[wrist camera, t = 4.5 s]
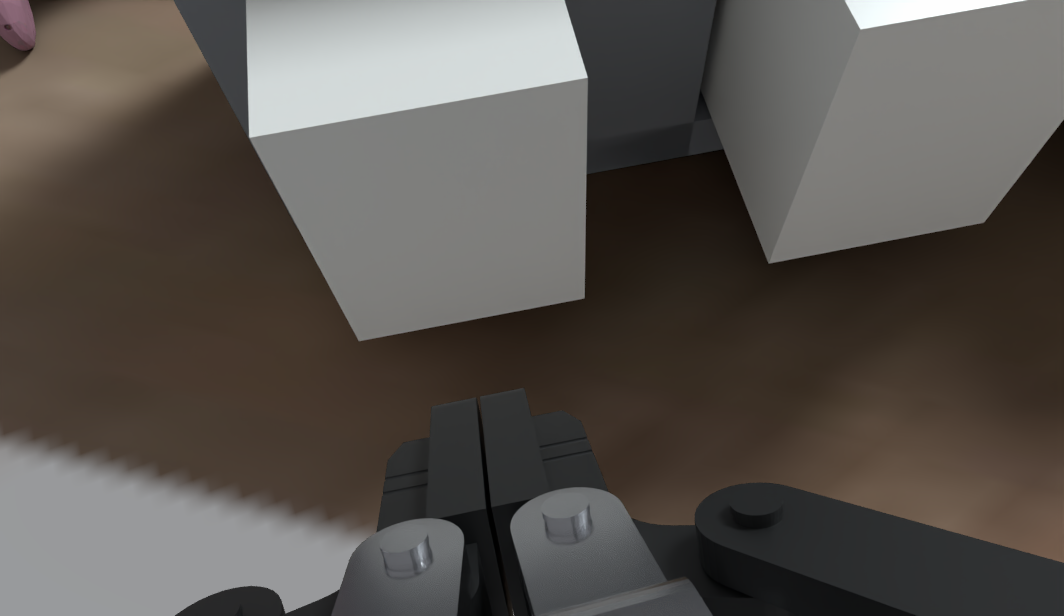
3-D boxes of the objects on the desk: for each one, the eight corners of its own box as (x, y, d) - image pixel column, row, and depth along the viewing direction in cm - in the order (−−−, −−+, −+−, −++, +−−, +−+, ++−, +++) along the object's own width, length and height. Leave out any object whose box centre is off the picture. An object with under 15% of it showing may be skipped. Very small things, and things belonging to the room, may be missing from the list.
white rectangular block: (584, 298, 21) (587, 77, 14) (359, 341, 21) (249, 137, 14) (523, 55, 26) (502, -206, 19) (335, 89, 25) (241, -164, 18)
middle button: (984, 222, 22) (1176, -27, 15) (768, 263, 22) (860, 29, 15) (857, -3, 26) (960, -279, 19) (676, 29, 26) (714, -240, 19)
